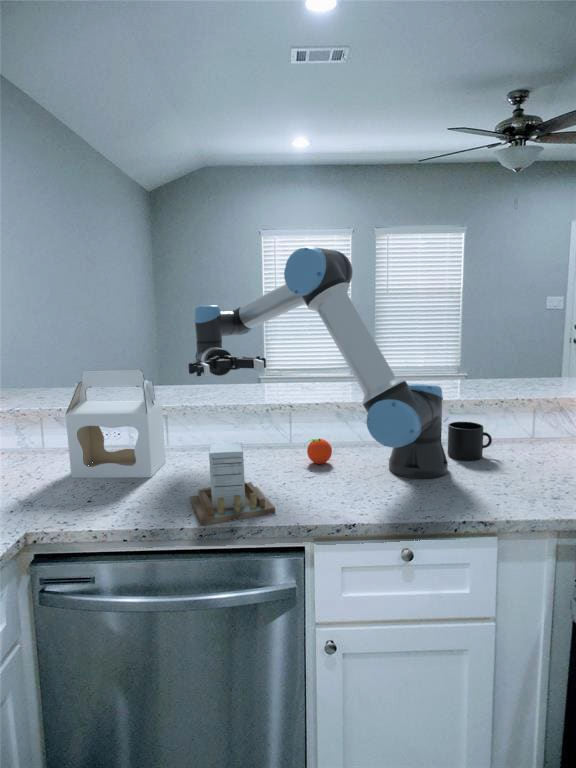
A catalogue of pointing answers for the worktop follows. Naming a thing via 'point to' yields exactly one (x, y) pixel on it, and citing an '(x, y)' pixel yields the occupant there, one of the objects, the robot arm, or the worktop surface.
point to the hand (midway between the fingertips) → (235, 368)
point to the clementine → (319, 451)
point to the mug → (466, 441)
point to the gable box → (113, 414)
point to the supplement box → (227, 473)
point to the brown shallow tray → (253, 507)
